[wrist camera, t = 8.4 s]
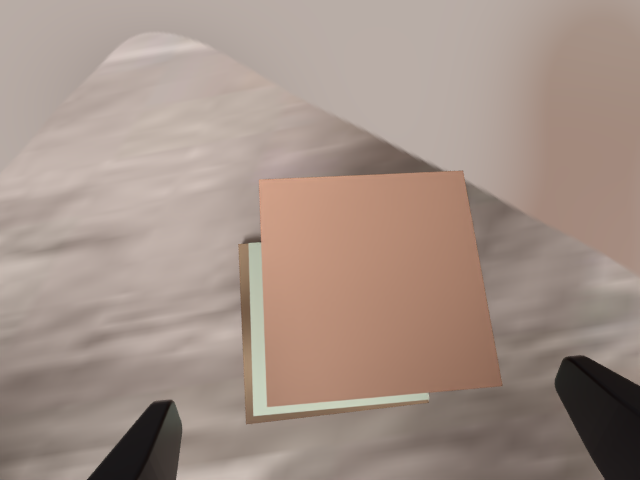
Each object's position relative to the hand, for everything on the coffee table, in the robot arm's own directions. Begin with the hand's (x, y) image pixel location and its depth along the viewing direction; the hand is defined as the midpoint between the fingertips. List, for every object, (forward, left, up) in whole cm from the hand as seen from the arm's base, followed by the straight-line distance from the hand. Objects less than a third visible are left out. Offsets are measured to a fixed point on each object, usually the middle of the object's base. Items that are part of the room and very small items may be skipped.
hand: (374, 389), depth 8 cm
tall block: (+3, +1, -11) cm, 12 cm away
